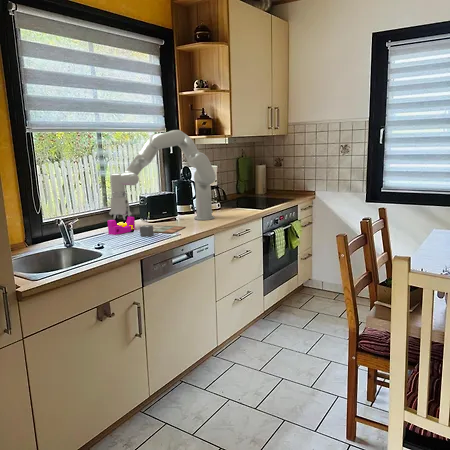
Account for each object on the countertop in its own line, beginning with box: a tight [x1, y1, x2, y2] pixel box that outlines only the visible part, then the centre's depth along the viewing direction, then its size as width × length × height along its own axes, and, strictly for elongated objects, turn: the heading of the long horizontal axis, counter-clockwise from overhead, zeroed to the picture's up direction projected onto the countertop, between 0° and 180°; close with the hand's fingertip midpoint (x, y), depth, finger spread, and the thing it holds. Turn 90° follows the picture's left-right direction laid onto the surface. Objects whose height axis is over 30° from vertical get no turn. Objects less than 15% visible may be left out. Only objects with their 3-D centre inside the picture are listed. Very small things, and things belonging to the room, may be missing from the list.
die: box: [139, 224, 155, 238], centre depth 223 cm, size 5×5×5 cm
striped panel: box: [153, 225, 187, 235], centre depth 235 cm, size 17×18×1 cm
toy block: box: [106, 215, 136, 236], centre depth 234 cm, size 15×6×8 cm, turn 138°
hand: (121, 225), depth 245 cm, fingers open, 4 cm apart
